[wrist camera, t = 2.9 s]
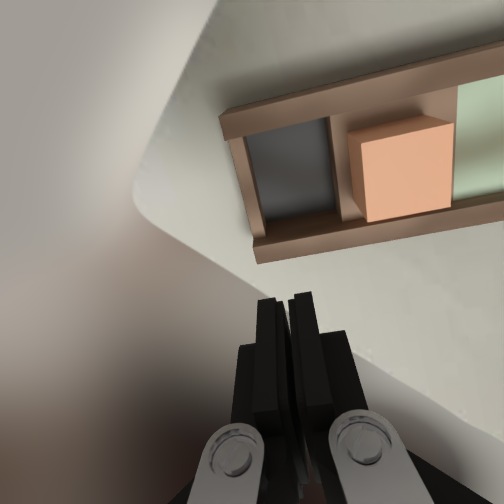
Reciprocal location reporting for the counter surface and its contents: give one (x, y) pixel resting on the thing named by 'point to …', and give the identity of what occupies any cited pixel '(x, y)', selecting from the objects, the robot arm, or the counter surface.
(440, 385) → the counter surface
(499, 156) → the box
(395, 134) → the block
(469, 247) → the counter surface
